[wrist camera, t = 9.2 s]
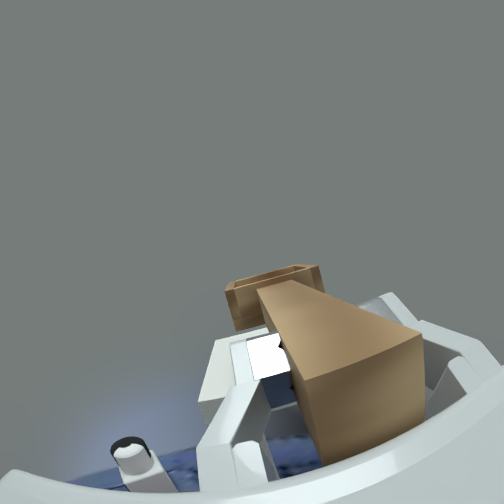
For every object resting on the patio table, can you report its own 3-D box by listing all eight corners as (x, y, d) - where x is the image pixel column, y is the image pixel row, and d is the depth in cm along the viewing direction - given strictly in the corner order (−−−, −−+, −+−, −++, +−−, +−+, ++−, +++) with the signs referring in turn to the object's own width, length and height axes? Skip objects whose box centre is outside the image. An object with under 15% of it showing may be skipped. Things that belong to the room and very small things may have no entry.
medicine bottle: (134, 487, 32) (103, 439, 32) (168, 475, 36) (140, 427, 36) (144, 510, 26) (107, 461, 26) (181, 496, 30) (150, 447, 30)
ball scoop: (230, 491, 4) (182, 388, 4) (237, 313, 25) (228, 282, 25) (482, 385, 4) (482, 280, 4) (306, 293, 25) (298, 263, 25)
